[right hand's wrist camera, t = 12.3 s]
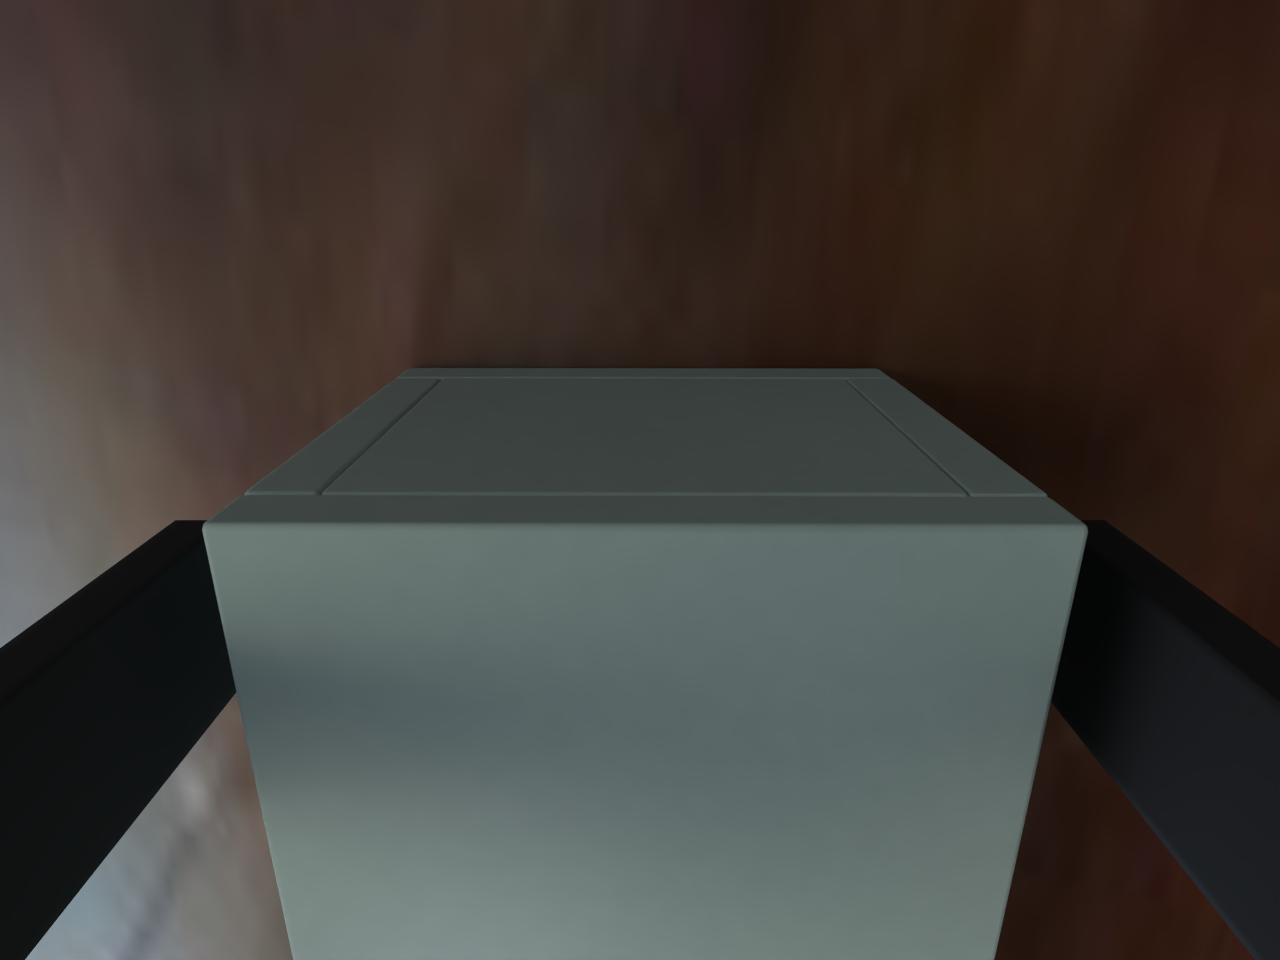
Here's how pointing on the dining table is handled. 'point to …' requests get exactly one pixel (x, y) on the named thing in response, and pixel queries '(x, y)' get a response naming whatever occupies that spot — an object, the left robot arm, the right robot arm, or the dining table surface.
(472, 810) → the cabinet
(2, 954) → the right robot arm
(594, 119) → the dining table surface
